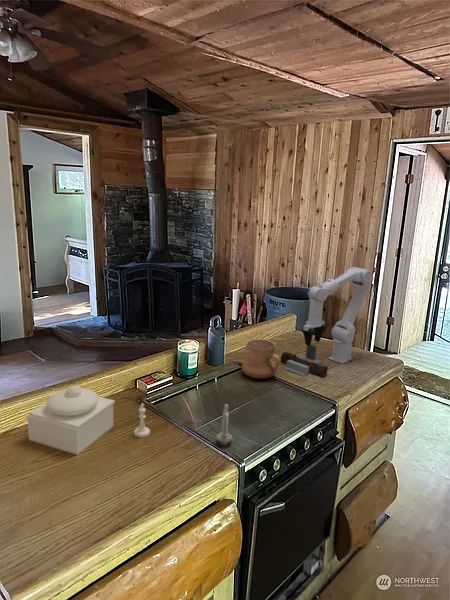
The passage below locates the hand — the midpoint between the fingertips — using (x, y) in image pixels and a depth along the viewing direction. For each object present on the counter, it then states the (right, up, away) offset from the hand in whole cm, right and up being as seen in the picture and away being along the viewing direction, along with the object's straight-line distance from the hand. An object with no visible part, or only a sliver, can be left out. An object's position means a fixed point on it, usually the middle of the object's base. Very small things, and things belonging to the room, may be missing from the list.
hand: (312, 343), depth 196 cm
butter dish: (-86, -22, -61) cm, 108 cm away
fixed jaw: (-8, -12, -6) cm, 15 cm away
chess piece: (-65, -22, -59) cm, 91 cm away
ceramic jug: (-25, -13, -12) cm, 30 cm away
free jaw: (-2, -10, +1) cm, 11 cm away
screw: (-39, -24, -63) cm, 78 cm away
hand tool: (-6, -12, -3) cm, 13 cm away
